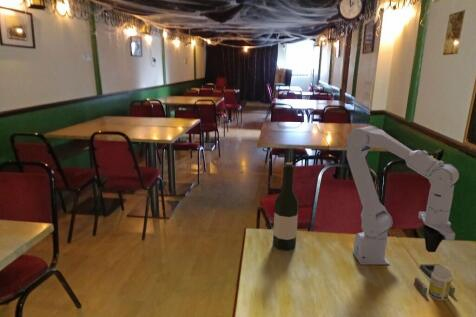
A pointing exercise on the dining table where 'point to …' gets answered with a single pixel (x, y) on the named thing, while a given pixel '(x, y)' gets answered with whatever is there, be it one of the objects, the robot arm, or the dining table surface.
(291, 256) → the dining table surface
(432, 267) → the dark gray rectangular tray
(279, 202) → the wine bottle
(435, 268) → the supplement bottle
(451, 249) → the dining table surface
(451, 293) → the channel
